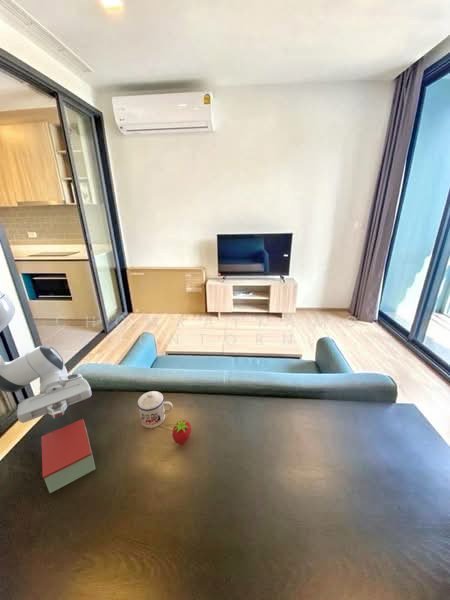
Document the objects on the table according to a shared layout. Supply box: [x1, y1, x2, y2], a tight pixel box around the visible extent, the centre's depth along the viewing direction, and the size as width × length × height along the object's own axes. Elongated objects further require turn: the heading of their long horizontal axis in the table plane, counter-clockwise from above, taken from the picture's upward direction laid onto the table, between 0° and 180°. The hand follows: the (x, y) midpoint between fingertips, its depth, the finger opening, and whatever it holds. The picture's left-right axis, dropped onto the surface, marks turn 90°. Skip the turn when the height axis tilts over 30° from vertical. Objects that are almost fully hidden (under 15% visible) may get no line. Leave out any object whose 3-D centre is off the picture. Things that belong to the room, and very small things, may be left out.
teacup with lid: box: [137, 390, 173, 429], centre depth 90 cm, size 12×9×12 cm
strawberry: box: [172, 419, 192, 446], centre depth 81 cm, size 6×8×10 cm
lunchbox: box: [43, 422, 96, 494], centre depth 76 cm, size 15×12×7 cm
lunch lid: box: [40, 418, 93, 480], centre depth 74 cm, size 15×12×1 cm
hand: (58, 414), depth 77 cm, fingers closed
